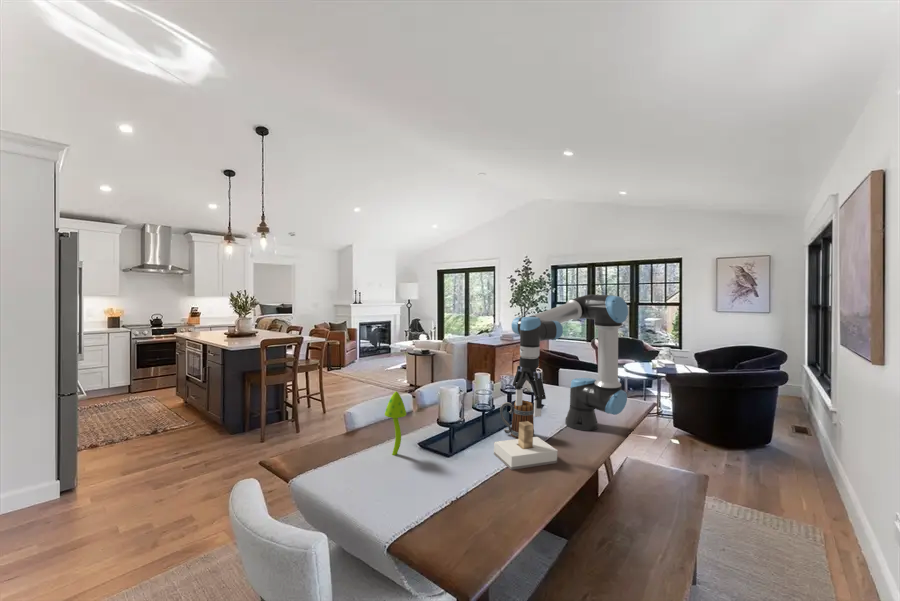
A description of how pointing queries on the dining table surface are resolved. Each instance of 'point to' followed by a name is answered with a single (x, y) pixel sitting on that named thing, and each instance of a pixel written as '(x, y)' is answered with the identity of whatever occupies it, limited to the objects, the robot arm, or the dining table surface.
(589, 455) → the dining table surface
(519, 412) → the mug
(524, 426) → the pin
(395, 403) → the mushroom
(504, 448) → the block
